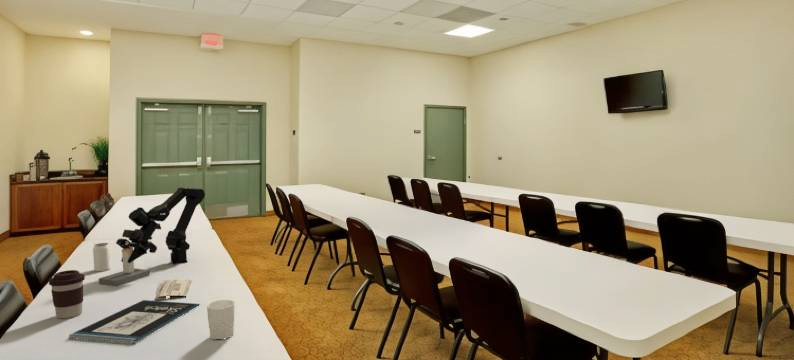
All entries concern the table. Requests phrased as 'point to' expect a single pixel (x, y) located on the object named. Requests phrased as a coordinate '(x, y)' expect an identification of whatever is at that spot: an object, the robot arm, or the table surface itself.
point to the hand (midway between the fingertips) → (125, 262)
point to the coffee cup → (67, 293)
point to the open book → (173, 288)
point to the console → (123, 277)
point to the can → (101, 257)
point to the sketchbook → (134, 322)
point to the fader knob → (126, 255)
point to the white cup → (221, 319)
